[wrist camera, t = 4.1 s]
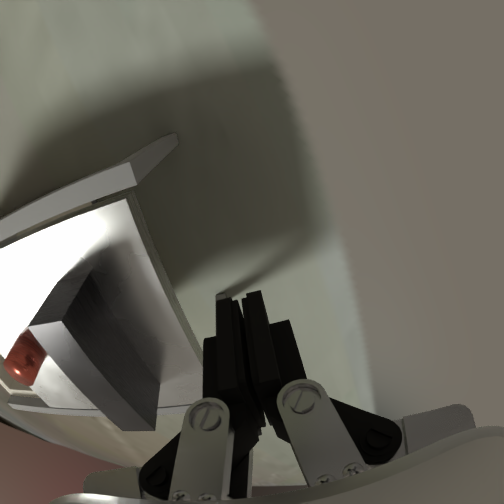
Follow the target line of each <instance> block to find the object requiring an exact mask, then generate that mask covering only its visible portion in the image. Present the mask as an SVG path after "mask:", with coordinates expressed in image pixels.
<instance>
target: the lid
mask: <svg viewBox="0 0 504 504" xmlns="http://www.w3.org/2000/svg"><path fill="white" fill-rule="evenodd" d="M0 354H1V355H2V356H3V357H4V359H5V360H4V362H3V365H4V368H5V370H6V371H7V372H8V374H9V375H10V376H11V377H12V378H14V379H15V380H16V381H18V382H19V383H21V384H23V385H26V386H29V387H30V388H31V389H32V390H33V391H34V392H35V393H36V394H37V395H38V396H39V397H40V398H41V399H42V400H43V401H44V402H45V403H46V404H47V405H48V406H49V407H55V408H72V409H99V410H100V411H101V412H102V413H103V414H104V415H105V416H106V417H107V418H109V419H110V420H111V421H112V422H113V423H114V424H115V425H116V426H118V427H119V428H120V429H121V430H122V431H155V428H156V418H157V409H158V407H166V406H177V405H186V404H193V403H194V402H196V401H198V400H200V399H202V385H203V351H202V349H201V347H200V345H199V343H198V341H197V339H196V337H195V335H194V333H193V331H192V329H191V327H190V325H189V323H188V320H187V318H186V316H185V314H184V312H183V310H182V308H181V305H180V303H179V301H178V299H177V297H176V294H175V292H174V290H173V288H172V285H171V283H170V281H169V279H168V276H167V274H166V272H165V269H164V267H163V264H162V262H161V260H160V257H159V255H158V252H157V250H156V247H155V245H154V242H153V240H152V237H151V235H150V232H149V230H148V227H147V225H146V222H145V219H144V217H143V214H142V211H141V208H140V206H139V203H138V200H137V197H136V195H135V192H134V190H132V191H129V192H126V193H123V194H120V195H117V196H115V197H112V198H109V199H106V200H103V201H101V202H98V203H95V204H93V205H90V206H87V207H85V208H82V209H80V210H77V211H74V212H72V213H69V214H67V215H65V216H62V217H60V218H57V219H55V220H53V221H50V222H48V223H46V224H43V225H41V226H39V227H36V228H34V229H32V230H30V231H28V232H25V233H23V234H21V235H19V236H17V237H15V238H13V239H11V240H8V241H6V242H4V243H2V244H0Z"/></svg>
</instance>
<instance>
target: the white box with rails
mask: <svg viewBox="0 0 504 504" xmlns="http://www.w3.org/2000/svg"><path fill="white" fill-rule="evenodd" d="M178 144H179V142H178V138H177V135H176V132H175V133H172V134H169V135H166V136H163V137H161V138H160V139H158V140H156V141H154V142H152V143H151V144H149V145H147V146H145V147H144V148H142V149H140V150H139V151H137V152H135V153H134V154H132V155H130V156H129V157H127V158H126V159H124V160H122V161H121V162H119V163H118V164H115V165H113V166H110V167H108V168H105V169H103V170H100V171H98V172H95V173H93V174H90V175H88V176H85V177H83V178H81V179H78V180H76V181H74V182H72V183H69V184H67V185H65V186H63V187H61V188H58V189H56V190H54V191H52V192H50V193H48V194H46V195H44V196H42V197H40V198H38V199H36V200H34V201H32V202H30V203H28V204H26V205H24V206H22V207H20V208H19V209H17V210H15V211H13V212H11V213H9V214H8V215H6V216H4V217H2V218H1V219H0V244H2V243H4V242H6V241H8V240H11V239H13V238H15V237H17V236H19V235H21V234H23V233H25V232H28V231H30V230H32V229H34V228H36V227H39V226H41V225H43V224H46V223H48V222H50V221H53V220H55V219H57V218H60V217H62V216H65V215H67V214H69V213H72V212H74V211H77V210H80V209H82V208H85V207H87V206H90V205H93V204H95V203H97V201H96V199H99V198H101V197H104V196H107V195H109V194H112V193H115V192H118V191H121V190H124V189H126V188H129V187H132V186H135V185H137V184H138V183H139V182H140V181H141V180H142V179H143V178H144V177H145V176H146V175H147V174H148V173H149V172H150V171H151V170H152V169H153V168H154V167H155V166H156V165H157V164H158V163H159V162H160V161H161V160H162V159H163V158H165V157H166V156H167V155H168V154H169V153H170V152H171V151H172V150H173V149H174V148H175V147H176V146H177V145H178ZM225 298H227V297H226V294H225V293H223V294H219V295H216V301H217V300H221V299H225ZM4 360H5V359H4V357H3V356H2V355H1V354H0V384H1V385H2V386H3V387H4V388H5V389H6V390H7V391H8V392H9V393H10V394H11V395H19V396H10V398H9V401H8V404H9V405H10V406H11V407H12V408H13V409H18V410H25V411H32V412H41V413H50V414H61V415H76V416H104V417H106V416H105V415H104V414H103V413H102V412H101V411H100V410H99V409H72V408H55V407H49V406H48V405H47V404H46V403H45V402H44V401H43V400H42V399H41V398H31V397H39V396H38V395H37V394H36V393H35V392H34V391H33V390H32V389H31V388H30V387H29V386H26V385H23V384H21V383H19V382H18V381H16V380H15V379H14V378H12V377H11V376H10V375H9V374H8V372H7V371H6V370H5V368H4V365H3V362H4ZM20 396H30V397H20ZM190 405H192V404H186V405H177V406H166V407H158V409H157V415H167V414H179V413H186V410H187V409H188V408H189V407H190Z"/></svg>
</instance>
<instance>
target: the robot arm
mask: <svg viewBox="0 0 504 504" xmlns="http://www.w3.org/2000/svg"><path fill="white" fill-rule="evenodd" d="M246 296H247V298H242V308H243V315H242V312H241V309H240V306H239V303H238V300H234V301H232V298H231V297H229V298H225V299H221V300H217V301H216V336H214V337H209V338H205V339H204V342H203V385H202V399H200V400H198V401H196V402H194V403H193V404H192V405H190V407H189V408H188V409H187V410H186V413H185V416H184V420H183V425H182V430H181V432H179V433H178V434H177V435H176V436H175V437H174V438H173V439H172V440H171V441H170V442H169V443H168V444H167V445H165V446H164V447H163V448H162V449H161V450H160V451H159V452H158V453H157V454H155V455H154V456H153V457H152V458H151V459H150V460H149V461H148V462H146V463H145V464H144V466H143V467H136V466H132V467H127V468H121V469H114V470H108V471H100V472H94V473H91V474H89V475H88V476H87V477H86V479H85V480H84V484H83V491H84V493H82V494H70V495H65V496H62V497H59V498H57V499H55V500H53V501H51V502H50V503H49V504H504V427H500V426H484V427H478V428H476V426H475V422H474V418H473V415H472V413H471V411H470V409H469V408H467V407H466V406H465V405H461V404H453V405H450V406H446V407H442V408H439V409H435V410H431V411H427V412H422V413H418V414H414V415H409V416H404V417H403V419H399V420H394V421H391V420H389V419H387V418H384V417H381V416H378V415H375V414H372V413H369V412H366V411H364V410H361V409H358V408H356V407H353V406H350V405H348V404H345V403H342V402H340V401H337V400H335V399H332V398H330V397H328V395H327V393H326V391H325V389H324V388H323V387H322V386H321V384H319V383H317V382H316V381H313V380H309V379H307V377H306V374H305V370H304V367H303V364H302V360H301V357H300V354H299V350H298V347H297V344H296V340H295V337H294V334H293V330H292V327H291V324H290V321H289V320H285V321H281V322H277V323H273V324H269V321H268V317H267V313H266V309H265V305H264V301H263V297H262V293H261V290H259V291H255V292H251V293H246ZM243 316H244V318H243ZM264 412H265V415H266V417H267V419H268V422H269V424H270V426H271V425H273V428H274V430H275V432H276V435H277V437H278V438H280V439H282V440H284V441H286V442H288V443H290V445H291V447H292V450H293V452H294V454H295V457H296V459H297V462H298V464H299V467H300V469H301V471H302V474H303V476H304V478H305V481H306V483H307V485H308V488H305V489H301V490H296V491H290V492H285V493H279V494H273V495H267V496H260V497H253V498H251V489H252V470H253V447H254V446H255V445H256V443H257V442H258V441H259V437H258V436H259V435H262V433H261V427H266V423H265V416H264Z"/></svg>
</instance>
